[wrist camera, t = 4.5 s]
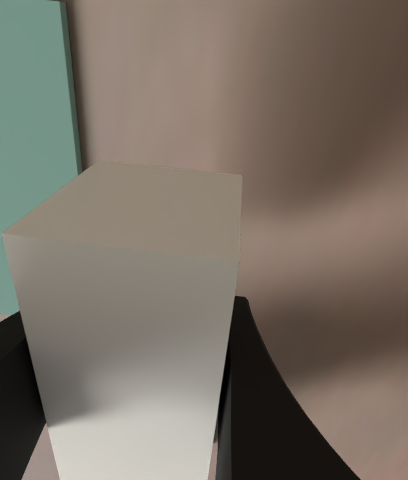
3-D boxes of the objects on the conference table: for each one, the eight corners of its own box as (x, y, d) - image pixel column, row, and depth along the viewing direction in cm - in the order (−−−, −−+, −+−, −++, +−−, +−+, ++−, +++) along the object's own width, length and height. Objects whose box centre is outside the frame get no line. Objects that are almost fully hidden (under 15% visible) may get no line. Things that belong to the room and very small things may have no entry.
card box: (215, 374, 15) (203, 507, 11) (113, 360, 15) (61, 484, 11) (242, 175, 11) (239, 262, 6) (99, 159, 11) (1, 233, 7)
